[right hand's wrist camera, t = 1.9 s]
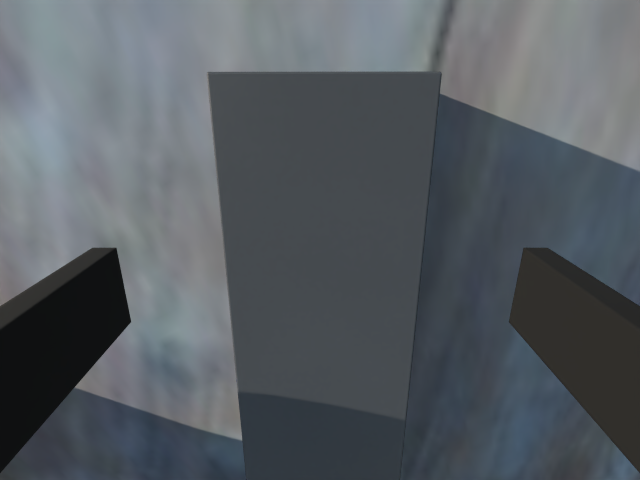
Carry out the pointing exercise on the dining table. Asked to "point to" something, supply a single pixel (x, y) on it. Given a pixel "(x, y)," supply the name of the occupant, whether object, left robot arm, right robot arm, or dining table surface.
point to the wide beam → (323, 261)
